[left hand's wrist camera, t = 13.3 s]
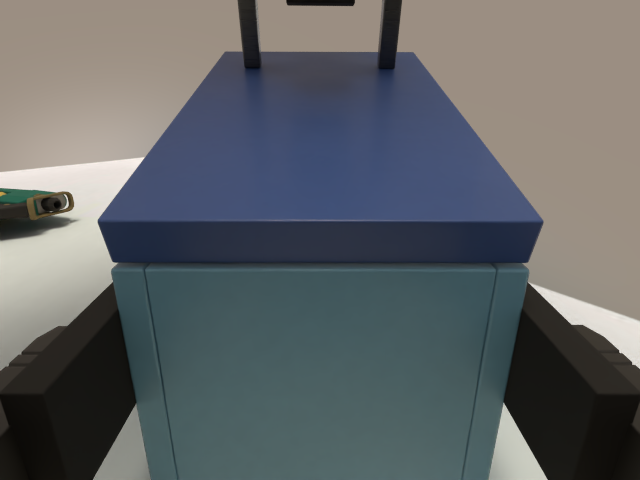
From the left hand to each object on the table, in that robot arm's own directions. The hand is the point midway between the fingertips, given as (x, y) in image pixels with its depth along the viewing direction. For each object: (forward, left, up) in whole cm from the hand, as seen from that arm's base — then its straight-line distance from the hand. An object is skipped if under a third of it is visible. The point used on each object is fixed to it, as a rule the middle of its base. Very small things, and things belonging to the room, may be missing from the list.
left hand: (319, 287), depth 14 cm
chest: (+3, -2, -6) cm, 7 cm away
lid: (+3, -2, +4) cm, 6 cm away
